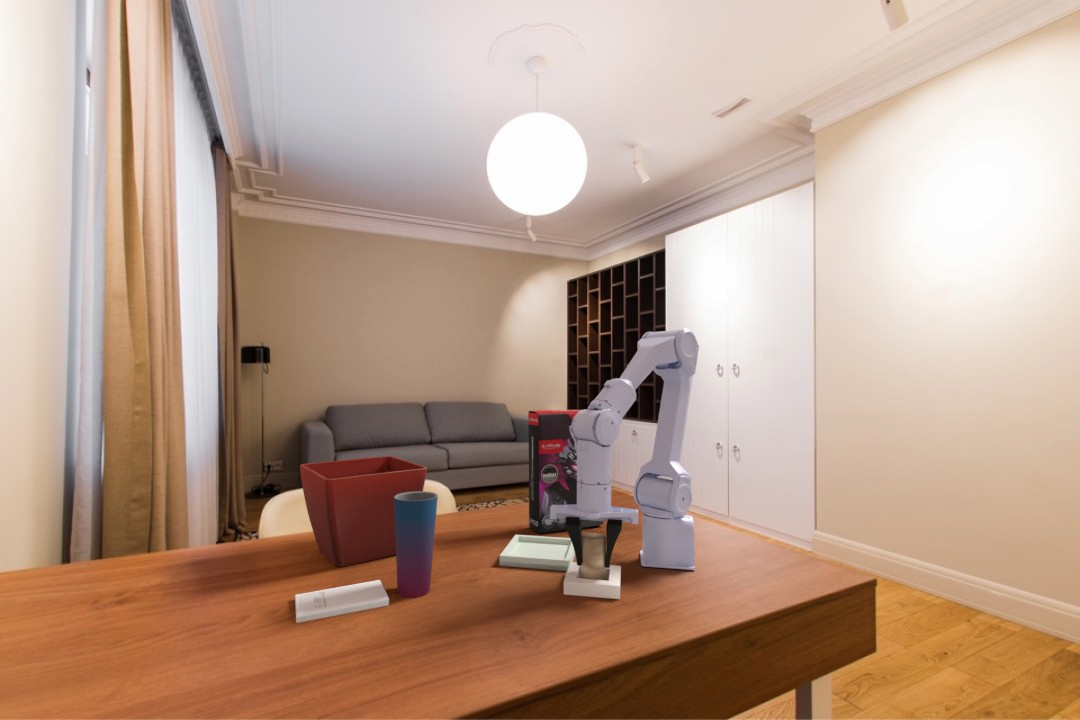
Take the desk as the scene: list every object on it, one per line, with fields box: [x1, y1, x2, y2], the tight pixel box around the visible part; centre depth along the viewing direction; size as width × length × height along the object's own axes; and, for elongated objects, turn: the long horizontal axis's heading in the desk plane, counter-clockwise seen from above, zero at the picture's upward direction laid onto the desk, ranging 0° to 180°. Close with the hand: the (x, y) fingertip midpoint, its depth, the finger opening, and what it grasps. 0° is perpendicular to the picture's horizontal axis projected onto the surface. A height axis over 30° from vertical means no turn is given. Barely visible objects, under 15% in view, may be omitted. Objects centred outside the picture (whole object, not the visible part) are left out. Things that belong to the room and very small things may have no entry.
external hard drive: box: [294, 579, 390, 624], centre depth 74 cm, size 2×8×12 cm
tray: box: [498, 534, 576, 572], centre depth 95 cm, size 13×13×2 cm
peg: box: [581, 532, 606, 580], centre depth 81 cm, size 4×4×8 cm
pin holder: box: [563, 561, 622, 600], centre depth 81 cm, size 9×9×2 cm
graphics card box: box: [527, 409, 604, 534], centre depth 116 cm, size 17×7×27 cm, turn 115°
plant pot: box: [299, 455, 428, 568], centre depth 97 cm, size 19×19×17 cm
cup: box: [394, 490, 439, 599], centre depth 79 cm, size 7×7×15 cm
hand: (593, 564), depth 81 cm, fingers closed on peg, 4 cm apart
